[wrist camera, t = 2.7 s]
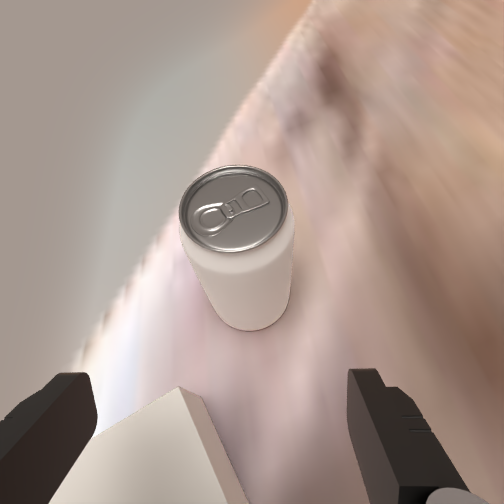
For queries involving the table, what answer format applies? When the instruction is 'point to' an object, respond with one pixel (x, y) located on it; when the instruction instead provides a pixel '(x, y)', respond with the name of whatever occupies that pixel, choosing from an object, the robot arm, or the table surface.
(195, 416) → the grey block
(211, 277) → the can
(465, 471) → the table surface
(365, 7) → the table surface
